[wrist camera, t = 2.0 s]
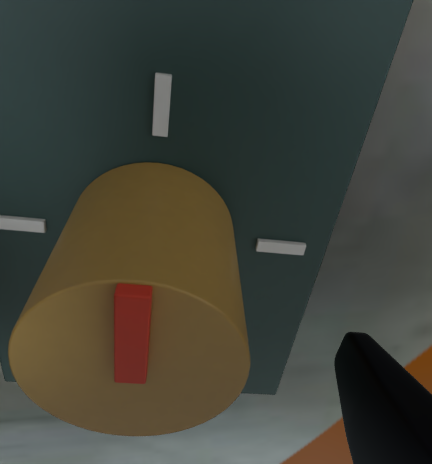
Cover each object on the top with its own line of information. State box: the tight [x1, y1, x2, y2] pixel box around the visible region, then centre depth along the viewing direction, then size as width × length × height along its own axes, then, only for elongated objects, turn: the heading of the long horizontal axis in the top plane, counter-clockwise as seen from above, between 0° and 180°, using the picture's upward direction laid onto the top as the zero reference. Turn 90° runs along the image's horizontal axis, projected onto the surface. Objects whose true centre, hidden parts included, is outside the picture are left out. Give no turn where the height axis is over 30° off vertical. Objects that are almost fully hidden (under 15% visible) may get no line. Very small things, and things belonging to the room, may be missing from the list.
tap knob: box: [8, 162, 250, 436], centre depth 9 cm, size 4×4×5 cm
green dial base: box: [0, 0, 413, 395], centre depth 12 cm, size 14×10×3 cm
